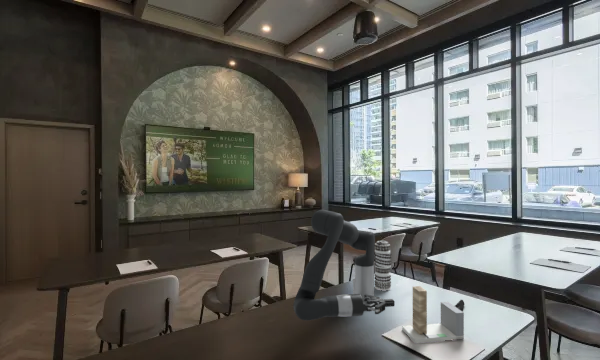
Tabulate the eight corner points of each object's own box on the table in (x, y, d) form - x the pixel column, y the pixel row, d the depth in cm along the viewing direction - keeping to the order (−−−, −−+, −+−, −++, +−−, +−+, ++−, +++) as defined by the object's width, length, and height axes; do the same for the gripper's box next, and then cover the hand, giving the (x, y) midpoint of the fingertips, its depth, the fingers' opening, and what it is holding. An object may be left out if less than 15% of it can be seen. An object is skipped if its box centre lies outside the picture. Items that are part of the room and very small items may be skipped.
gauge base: (414, 343, 115) (414, 315, 114) (402, 330, 124) (402, 304, 124) (463, 339, 117) (463, 312, 117) (447, 326, 127) (447, 301, 127)
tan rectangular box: (424, 339, 114) (423, 294, 114) (412, 328, 122) (412, 286, 122) (431, 338, 114) (431, 294, 114) (420, 327, 123) (420, 286, 122)
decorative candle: (374, 290, 167) (374, 243, 166) (373, 284, 176) (373, 239, 175) (392, 291, 165) (392, 243, 165) (390, 285, 174) (390, 239, 174)
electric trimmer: (466, 307, 146) (466, 300, 146) (458, 318, 134) (458, 311, 134) (457, 305, 149) (457, 298, 149) (448, 316, 137) (448, 308, 137)
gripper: (354, 302, 109) (401, 299, 112) (343, 288, 123) (386, 286, 125) (354, 323, 110) (401, 320, 112) (343, 308, 123) (386, 305, 125)
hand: (393, 302), depth 118 cm, fingers closed
